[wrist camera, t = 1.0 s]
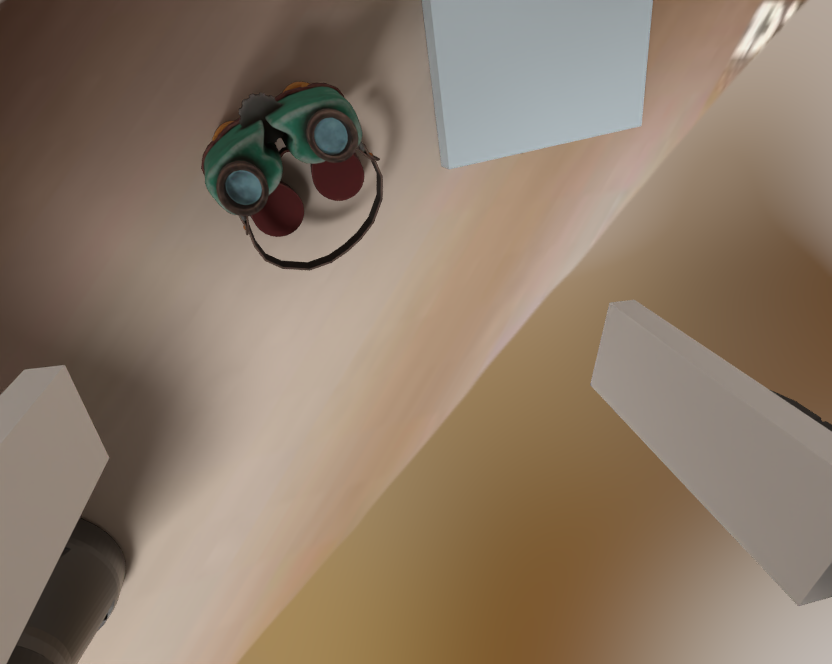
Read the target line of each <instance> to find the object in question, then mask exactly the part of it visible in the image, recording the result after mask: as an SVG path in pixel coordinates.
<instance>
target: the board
mask: <svg viewBox="0 0 832 664" xmlns="http://www.w3.org/2000/svg"><path fill="white" fill-rule="evenodd" d="M652 4H653V0H422V7H423V16H424V24H425V32H426V41H427V49H428V57H429V66H430V74H431V82H432V91H433V99H434V107H435V116H436V124H437V132H438V141H439V149H440V157H441V165H442V167H445V168H447V169H453V168H457V167H462V166H466V165H470V164H475V163H479V162H484V161H488V160H493V159H497V158H502V157H506V156H510V155H515V154H519V153H524V152H528V151H533V150H537V149H542V148H546V147H550V146H555V145H559V144H564V143H568V142H573V141H577V140H581V139H586V138H590V137H595V136H599V135H604V134H608V133H613V132H617V131H621V130H626V129H630V128H635V127H639V126H641V124H642V113H643V103H644V92H645V81H646V70H647V59H648V48H649V37H650V26H651V15H652Z"/></svg>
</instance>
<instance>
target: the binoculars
mask: <svg viewBox="0 0 832 664" xmlns="http://www.w3.org/2000/svg"><path fill="white" fill-rule="evenodd" d="M239 115H240V117H241V118H239V119H237V120H235V121H229V122H225V123H223V124H222V125H220V126H219V127H218V128H217V130H216V132H215V134H214V136H213V138H212V140H213V141H212V142H211V143H210V144H209V145H208V146H207V148H206V150H205V152H204V154H203V158H202V166H201V169H202V171H203V173H204V175H205V184H206V187H207V189H208V191H209V192H210V194H211V195H212V197H213V198H214V199H215V200H216V201H217V202H218V204H219V205H220V206H221V207H222V208H223V209H225V210H226V211H227V212H229V213H230V214H234V215H239V217H240V219H241V221H242V223H243V224H244V226H243V228H244V229H245V230H246V235H248V233H249V235H250V237H251V240H252V242H253V245H254V247H255V248H256V250H257V251H258V252H259V254H260V255H261V256H262V257H263V259H264V260H265V261H266V262H269V263H271V264H273V265H275V266H278V267H280V268H282V269H296V270H312V269H315V268H318V267H321V266H323V265H326V264H329V263H332V262H333V261H335V260H336V259H338V258H339V257H341V256H342V255H343V254H345V253H346V252H348V251H349V250H350V249H351V248H352V247H353V246H354V245H355V244H357V243H358V242H359V241H360V240H361V239H362V238H363V236H364V235H365V234H366V232H367V231H368V230H369V228H370V227H371V226H372V224H373V223H374V221H375V218H376V215H377V213H378V210H379V207H380V205H381V202H382V195H383V176H382V174H381V172H380V169H379V167H378V165H377V162H376V161H378V160H380V158H378V157H376V156H374V155H373V154H372V153H369V152H368V150H367V148H366V146H365V144H363V143H362V142H361V140H362V130H361V126H360V123H359V120H358V118H357V115H356V113H355V111H354V109H353V107H352V106H351V104H350V103H349V102H348V101H347V100H346V99H345V98H344V95H343V94H342V93H341V91H340V90H339V89H338V88H336V87H334V86H331V85H329V84H326V83H313V84H309V83H306V82H295V83H292V84H290V85H289V86H287V87H286V88H285V89H284V91H283V93H281V94H280V95H278V96H277V97H275V98H274V97H272V96H271V95H270V96H267V95H265V94H264V93H259V94H257V95H254V94H251V95H249V98H248V99H244V100H243V101H242V107H241V108H239ZM278 138H282V140H283V142H284V144H285V146H286V147H284V148H282V149H281V150H280V151H278V149H277V147H276V145H275V142H277V139H278ZM356 149H357V150H358V151H359V152H361V153H362V154H363V155H364V156H366V157H367V158H369V159H370V160H371V161H372V164H373V166H374V168H375V171H376V173H377V195H376V198H375V200H374V203H373V206H372V209H371V211H370V214H369V217H368V218H367V220H366V221H365V222H364V224H363V225H362V226H361V228H360V229H359V230H358V231H357V233H356V234H355V235H354V236H352V237H351V238H350V239H349V240H348V241H347V242H346V243H345V244H344V245H342V246H341V247H339V248H338V249H337V250H335V251H334V252H332V253H331V254H329V255H327V256H325V257H322V258H319V259H316V260H313V261H310V262H293V261H281V260H279V259H276V258H274V257H272V256H270V255H268V254H266V253H265V252H264V251H263V250H262V248H261V247H260V246H259V244H258V243H257V242H256V240H255V238H254V235H253V233H252V230H251V228H250V225H249V220H248V216H251V218H252V219H253V221H254V223H255V224H256V226H257V227H258V228H259V229H260V230H261V231H262V232H264V233H265V234H268V235H270V236H275V237H280V236H286V235H288V234H291V233H292V232H294V231H295V230H296V229H297V228H298V227H299V226H300V224H301V222H302V220H303V216H304V207H303V203H302V201H301V199H300V197H299V196H298V195H297V194H296V193H295V192H294V191H293V189H291V188H290V187H289V186H288V185H287V184H285V183H283V182H282V181H280V180H281V178H282V172H283V166H282V161H281V157H282V156H283V154H284V153H286V152H291V154H292V155H293V156H294V157H295V158H296V159H298V160H300V161H302V162H305V163H310V164H311V173H312V178H313V182H314V185H315V187H316V189H317V190H318V191H319V193H321V194H322V195H323V196H324V197H326V198H328V199H331V200H335V201H342V200H347V199H349V198H351V197H353V196H355V195H356V194H357V193H358V192H359V190H360V189H361V187H362V185H363V182H364V170H363V167H362V165H361V162H360V160H359V158H358V156H357V155H356V153H355V151H356ZM375 160H376V161H375ZM246 220H247V222H246Z"/></svg>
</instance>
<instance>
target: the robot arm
mask: <svg viewBox="0 0 832 664" xmlns="http://www.w3.org/2000/svg"><path fill="white" fill-rule="evenodd" d="M590 385H591V386H592V387H593V388H594V389H595V390H596V392H597V393H598V394H599V395H600V396H601V397H602V398H603V399H604V400H605V401H606V402H607V403H608V404H609V405H610V406H611V407H612V409H613V410H614V411H615V412H616V413H617V414H618V415H619V416H620V417H621V418H622V419H623V420H624V421H625V422H626V423H627V425H628V426H629V427H630V428H631V429H632V430H633V431H634V432H635V433H636V434H637V435H638V436H639V437H640V438H641V439H642V441H643V442H644V443H645V444H646V445H647V446H648V447H649V448H650V449H651V450H652V451H653V452H654V453H655V454H656V455H657V456H658V458H659V459H661V461H662V462H663V463H664V464H665V465H666V466H667V467H668V468H669V469H670V470H671V471H672V472H673V473H674V474H675V476H676V477H677V478H678V479H679V480H680V481H681V482H682V483H683V484H684V485H685V486H686V487H687V488H688V489H689V490H690V492H691V493H692V494H693V495H694V496H695V497H696V498H697V499H698V500H699V501H700V502H701V503H702V504H703V505H704V506H705V508H706V509H707V510H708V511H709V512H710V513H711V514H712V515H713V516H714V517H715V518H716V519H717V520H718V521H719V522H720V523H721V524H722V525H723V527H724V528H725V529H726V530H727V531H728V532H729V533H730V534H731V535H732V536H733V537H734V538H735V539H736V540H737V542H739V544H741V546H742V547H743V548H744V549H745V550H746V551H747V552H748V553H749V554H750V555H751V556H752V557H753V558H754V560H756V562H757V563H758V564H759V565H760V566H761V567H762V568H763V569H764V570H765V571H766V572H767V573H768V574H769V576H770V577H771V578H772V579H773V580H774V581H775V582H776V583H777V584H778V585H779V586H780V587H781V588H782V589H783V590H784V592H785V593H786V594H787V595H788V596H789V597H790V598H791V599H792V600H793V601H794V602H795V603H796V604H797V605H798V606H801V605H805V604H808V603H812V602H815V601H819V600H823V599H826V598H829V597H832V425H831V424H829V423H828V422H826V421H825V422H822V421H821V418H820V417H819V416H817V415H816V414H814V413H813V412H811V411H810V410H808V409H807V408H805V407H804V406H802V405H801V404H799V403H798V402H796V401H794V400H792V399H789V398H787V397H785V396H783V395H780V394H778V393H776V392H774V391H771V390H769V389H767V388H766V387H764V386H762V385H761V384H760V383H758V382H756V381H755V380H754V379H752V378H751V377H749V376H748V375H746V374H745V373H743V372H742V371H740V370H739V369H737V368H736V367H734V366H733V365H731V364H730V363H728V362H727V361H725V360H724V359H722V358H721V357H719V356H718V355H716V354H715V353H713V352H712V351H710V350H709V349H707V348H706V347H704V346H702V345H701V344H700V343H698V342H697V341H695V340H694V339H692V338H691V337H689V336H688V335H686V334H685V333H683V332H682V331H680V330H679V329H677V328H676V327H674V326H673V325H671V324H670V323H668V322H667V321H665V320H664V319H662V318H661V317H659V316H658V315H656V314H655V313H653V312H652V311H650V310H649V309H647V308H646V307H644V306H643V305H641V304H640V303H638V302H637V301H635V300H629V301H620V302H612V303H609V307H608V311H607V316H606V320H605V324H604V329H603V333H602V337H601V341H600V346H599V350H598V355H597V359H596V363H595V367H594V371H593V376H592V380H591V384H590ZM108 460H109V456H108V454H107V452H106V450H105V448H104V446H103V444H102V441H101V439H100V437H99V435H98V433H97V431H96V429H95V427H94V425H93V423H92V421H91V418H90V416H89V414H88V412H87V410H86V408H85V406H84V404H83V402H82V400H81V398H80V395H79V393H78V391H77V389H76V387H75V385H74V383H73V381H72V379H71V377H70V375H69V373H68V370H67V368H66V366H65V365H60V366H51V367H42V368H33V369H25V370H23V371H22V373H21V374H20V375H19V376H18V377H17V378H16V379H15V380H14V381H13V382H12V383H11V384H10V385H9V386H8V387H7V388H6V390H5V391H4V392H3V393H2V394H1V395H0V664H77V663H78V662H79V660H80V658H81V657H82V655H83V653H84V652H85V650H86V648H87V647H88V645H89V644H90V642H91V640H92V639H93V637H94V635H95V634H96V632H97V631H98V630H99V629H100V628H101V627H102V626H103V625H104V623H105V622H106V621H107V619H108V618H109V616H110V615H111V613H112V612H113V610H114V608H115V605H116V603H117V601H118V598H119V595H120V591H121V588H122V584H123V581H124V577H125V571H126V565H125V559H124V556H123V553H122V551H121V549H120V547H119V546H118V545H117V543H116V542H115V541H114V540H113V539H112V538H111V537H110V536H109V535H108V534H107V533H106V532H104V531H103V530H101V529H100V528H99V527H97V526H95V525H93V524H92V523H89V522H87V521H85V520H83V519H81V518H80V516H81V514H82V512H83V510H84V508H85V506H86V504H87V502H88V500H89V498H90V496H91V494H92V492H93V490H94V488H95V486H96V484H97V482H98V480H99V478H100V476H101V474H102V472H103V470H104V468H105V466H106V464H107V462H108Z"/></svg>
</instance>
